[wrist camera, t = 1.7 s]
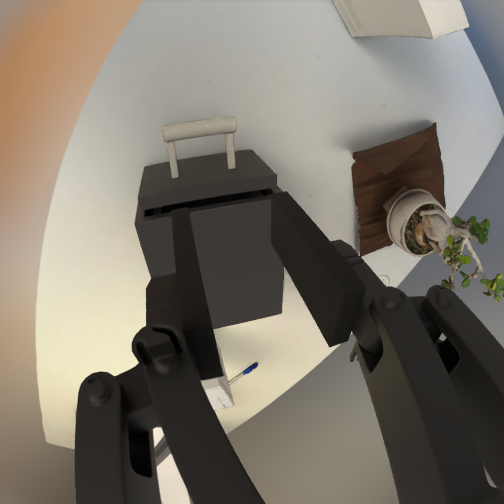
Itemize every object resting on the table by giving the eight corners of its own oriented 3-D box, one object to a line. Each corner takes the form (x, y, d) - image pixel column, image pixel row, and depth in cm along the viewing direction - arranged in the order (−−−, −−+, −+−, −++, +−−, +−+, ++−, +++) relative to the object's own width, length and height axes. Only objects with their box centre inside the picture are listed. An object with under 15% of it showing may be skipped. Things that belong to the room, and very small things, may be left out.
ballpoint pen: (255, 361, 55) (256, 365, 54) (258, 362, 55) (259, 366, 55) (222, 385, 58) (223, 389, 57) (225, 386, 58) (226, 389, 58)
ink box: (177, 330, 44) (187, 395, 34) (206, 321, 44) (221, 386, 35) (195, 357, 49) (206, 414, 40) (220, 349, 49) (236, 406, 40)
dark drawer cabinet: (142, 179, 28) (134, 223, 21) (255, 161, 31) (287, 196, 23) (167, 280, 37) (173, 337, 30) (258, 263, 40) (282, 313, 32)
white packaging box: (350, 38, 24) (433, 41, 14) (321, -14, 19) (398, -37, 10) (391, 23, 23) (471, 28, 13) (367, -25, 19) (445, -38, 9)
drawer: (136, 123, 24) (125, 141, 18) (250, 107, 26) (277, 119, 20) (168, 268, 35) (171, 314, 29) (255, 251, 37) (275, 292, 31)
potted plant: (352, 251, 47) (418, 357, 25) (322, 145, 39) (409, 185, 17) (443, 216, 44) (534, 287, 22) (427, 116, 36) (546, 139, 14)
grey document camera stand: (75, 403, 51) (82, 525, 26) (192, 416, 65) (220, 523, 41) (79, 443, 67) (87, 523, 43) (161, 451, 81) (178, 526, 57)
